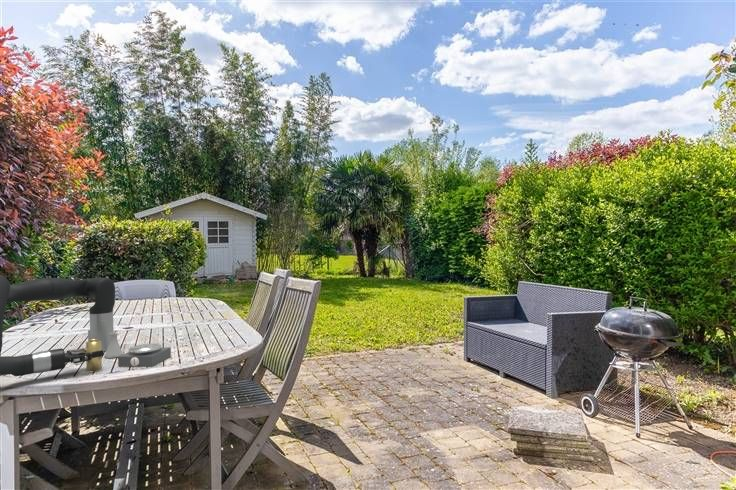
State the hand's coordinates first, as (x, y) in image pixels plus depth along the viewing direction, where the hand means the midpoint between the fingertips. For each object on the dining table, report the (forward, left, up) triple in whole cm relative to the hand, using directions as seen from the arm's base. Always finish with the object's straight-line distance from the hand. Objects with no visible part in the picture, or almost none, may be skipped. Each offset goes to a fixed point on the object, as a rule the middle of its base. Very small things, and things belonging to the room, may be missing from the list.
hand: (101, 351), depth 168 cm
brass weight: (-2, -2, -6) cm, 7 cm away
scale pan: (+12, +9, -2) cm, 15 cm away
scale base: (+12, +9, -6) cm, 17 cm away
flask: (-7, +17, -7) cm, 20 cm away
